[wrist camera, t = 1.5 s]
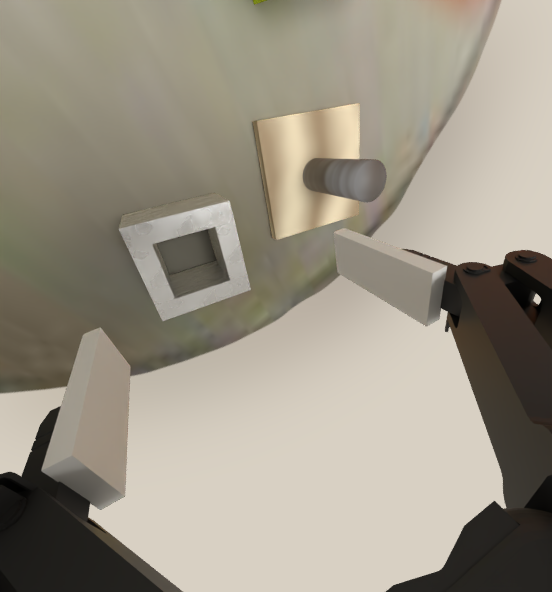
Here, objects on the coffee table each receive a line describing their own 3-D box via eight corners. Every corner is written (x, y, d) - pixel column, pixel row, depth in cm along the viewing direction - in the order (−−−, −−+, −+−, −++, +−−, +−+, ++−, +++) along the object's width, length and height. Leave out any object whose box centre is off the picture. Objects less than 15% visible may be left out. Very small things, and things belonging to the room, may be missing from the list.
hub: (159, 294, 30) (162, 321, 25) (122, 214, 25) (118, 228, 21) (234, 269, 33) (250, 289, 28) (214, 192, 28) (229, 200, 23)
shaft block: (272, 237, 33) (316, 265, 25) (252, 122, 27) (302, 107, 18) (353, 212, 36) (415, 230, 28) (352, 104, 30) (433, 86, 22)
